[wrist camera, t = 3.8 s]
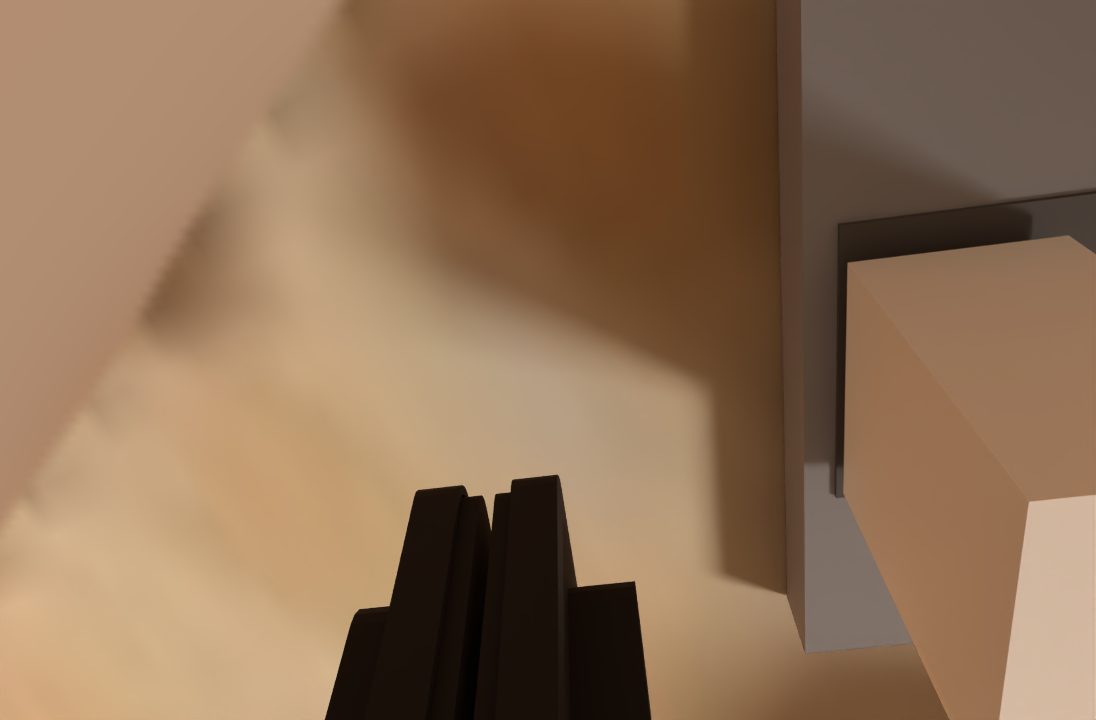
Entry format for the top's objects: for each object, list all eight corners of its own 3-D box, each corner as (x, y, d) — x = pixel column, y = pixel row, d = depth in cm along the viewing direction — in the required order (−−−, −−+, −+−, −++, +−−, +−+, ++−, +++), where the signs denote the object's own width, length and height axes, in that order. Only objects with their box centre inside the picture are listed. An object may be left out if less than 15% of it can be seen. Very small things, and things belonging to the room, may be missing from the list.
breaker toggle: (1068, 234, 12) (1396, 463, 8) (1035, 473, 14) (1282, 778, 9) (847, 262, 13) (1028, 502, 8) (842, 493, 15) (986, 801, 10)
